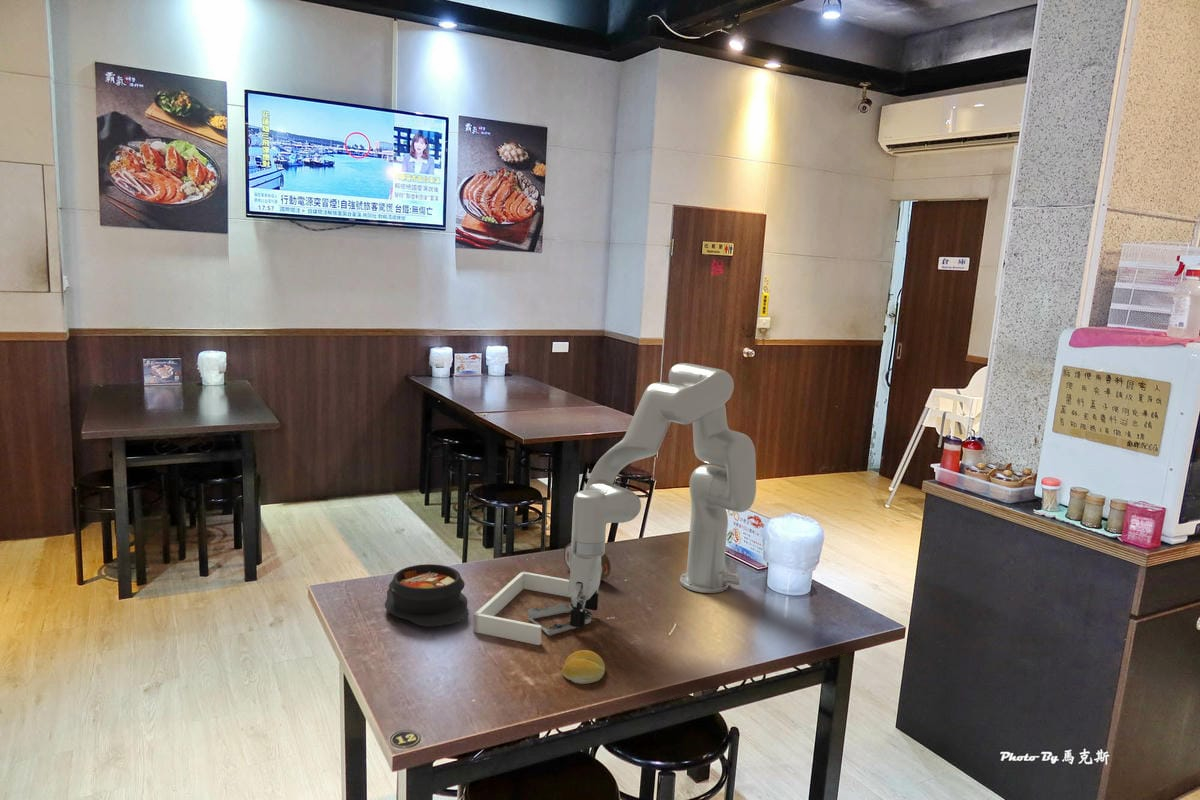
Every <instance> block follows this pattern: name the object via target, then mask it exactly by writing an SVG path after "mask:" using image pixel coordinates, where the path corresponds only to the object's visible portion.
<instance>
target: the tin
mask: <svg viewBox="0 0 1200 800" xmlns="http://www.w3.org/2000/svg"><path fill="white" fill-rule="evenodd" d="M563 557H564V558H563V559H564V564H565V566H566V567H567V568H568V569H569V570H570V568H571V562H572V557H573V554H572V553H571V542H570V543H568V544H567V545H565V547H564V550H563ZM610 574H611V561H610V558H609V556H608V555H607V554H606V552H604V555H603V556H601V577H600V581H602V580H606V579H608V577H609V576H610Z"/></svg>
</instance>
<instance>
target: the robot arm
mask: <svg viewBox="0 0 1200 800" xmlns="http://www.w3.org/2000/svg"><path fill="white" fill-rule="evenodd" d="M734 383H735V382H734V379H733V378H732V376H731V374H730V373H729V372H727V371H726V370H723V369H721V368H715V367H709V366H705V365H700V364H694V363H687V362H682V363H677V364H674V365H673V366H672V367H671V368H670V370H669V372H668V382H653V383H651V384H649V385H648V386H647V387H646V388H645V390H644V392H643V394H642V396H641V399H640V400H639V403H638V405H637V408H636V410H635V412H634V414H633V417H632V419H631V421H630V423H629V425H628V428H627V430H626V432H625V435H624V437H623V438H622V439H621V440H620V441H619V442H618V443H616V444H614V445H613V446H612V447H611V448H609V450H607V451H606V452H605V453H604V454H603V455H602V456H601V457H600V458H599V459H598V461H596V464H595V465H594V467H593V469H592V470H591V473H590V475H589V478H588V480H587V482H586V486H585V488H584V490H579V491H577V492H576V493H575V495H574V497H573V506H572V507H573V508H572V509H573V510H572V522H571V523H572V527H571V542H570V543H571V553H572V554H573V557H572V562H571V568H570V569H569V579H568V580H569V587H568V597H567V598H570V606H571V612H570V620H569V622H570V625H571V626H573V627H577V628H580V629H584V628H585V626H586V624H585V610H584V609H586V610H589V611H597V610H598V608H599V605H598V604H599V590H600V589H599V587H600V584H601V580H600V577H601V556H603V555H604V553H606V552H605V551H606V535H607V534H606V532H607V525H608V524H612V523H615V524H616V523H617V524H619V523H628V522H631V521H632V520H634V519H636V518H637V516H638V515H639V514H640V512H641V510H642V509H641V507H642V502H641V499H640V497H639V496H638V494H636V493H635V492H634V491H632V490H630V489H627V488H625V487H622V486H619V485H617V484H614V481H615V479H616V477H617V476H618V475H619V473H620V472H621V471H622V470H623V469H624V468H625V467H627V466H628V465H629V464H632V463H634V462H636V461H640V460H643V459H647V458H651V457H653V456H655V455H657V454H658V453H659V450H660V449H661V448H660V447H661V446H662V444H663V440H664V438H665V437H666V434H667V431H668V429H669V427H670V425H671V423H676V424H680V425H689V424H692V436H693V437H692V438H693V439H692V440H693V451H694V455H695V457H696V458H697V459H698V460H699V461H701V462H704V463H707V464H703V465H700V466H698V467H696V468H695V469H694V470H693V471H692V473H691V475H690V478H689V494H690V504H691V505H690V508H691V509H690V510H691V511H690V513H691V514H690V523H689V524H690V525H689V527H690V528H689V535H688V536H689V538H688V551H687V552H688V553H687V562H686V563H687V564H686V572H684V573H682V574H681V575H680V577H679V583H680V584H681V586H683V587H684V588H686V589H688V590H689V591H690V590H691V591H693V592H698V593H701V594H702V593H703V594H704V593H705V594H717V592H718V593H722V592H724V590H725V591H726V590H727V589H728V588H729V585H730V584H733V585H736V586H737V585H738V586H740V584H741V577H738V574H736V573H729V572H728V571H727V567H726V566H725V559H726V548H727V546H726V545H727V539H728V538H727V536H728V535H727V533H728V527H729V520H728V519H729V518H728V512H727V510H728V511H731V512H734V513H735V512H736V513H745V512H747V511H748V510H749V509H751V507H752V506H753V504H754V503H755V502H754V501H755V499H756V493H757V468H756V467H757V466H756V465H757V464H756V463H757V462H756V458H757V456H756V447H755V445H754V442H753V441H752V439H751V437H750V436H748V435H747V434H745V433H742V432H740V431H737V430H736V431H735V430H733V429H732V430H731V429H730V428H729V426H728V420H727V419H728V418H727V407H726V403H727V402H728V401H729V400H730V399H731V397H732V395H733V392H734V389H735V388H734V387H735V386H734V385H735V384H734ZM579 595H580V596H579ZM578 601H579V602H578ZM580 602H581V603H582V604H580Z"/></svg>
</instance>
